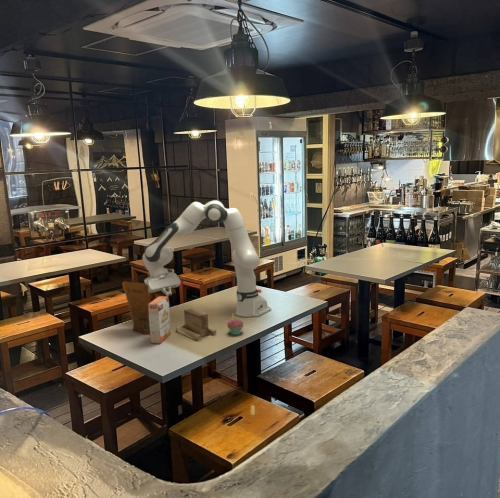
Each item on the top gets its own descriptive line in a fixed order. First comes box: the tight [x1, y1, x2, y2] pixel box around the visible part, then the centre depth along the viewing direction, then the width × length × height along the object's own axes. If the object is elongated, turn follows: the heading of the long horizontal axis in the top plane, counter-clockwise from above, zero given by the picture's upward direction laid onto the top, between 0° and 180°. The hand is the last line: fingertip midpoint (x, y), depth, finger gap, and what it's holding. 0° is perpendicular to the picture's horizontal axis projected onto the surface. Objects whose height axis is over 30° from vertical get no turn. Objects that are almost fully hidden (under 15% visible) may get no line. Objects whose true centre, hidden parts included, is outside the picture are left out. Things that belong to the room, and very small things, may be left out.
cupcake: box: [226, 312, 244, 336], centre depth 239 cm, size 9×8×12 cm
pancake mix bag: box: [121, 281, 151, 335], centre depth 244 cm, size 7×19×28 cm, turn 52°
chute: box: [175, 323, 218, 342], centre depth 242 cm, size 12×20×2 cm, turn 43°
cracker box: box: [148, 295, 171, 345], centre depth 234 cm, size 14×6×21 cm, turn 168°
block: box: [183, 307, 210, 339], centre depth 240 cm, size 5×14×12 cm, turn 43°
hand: (169, 294), depth 256 cm, fingers closed
